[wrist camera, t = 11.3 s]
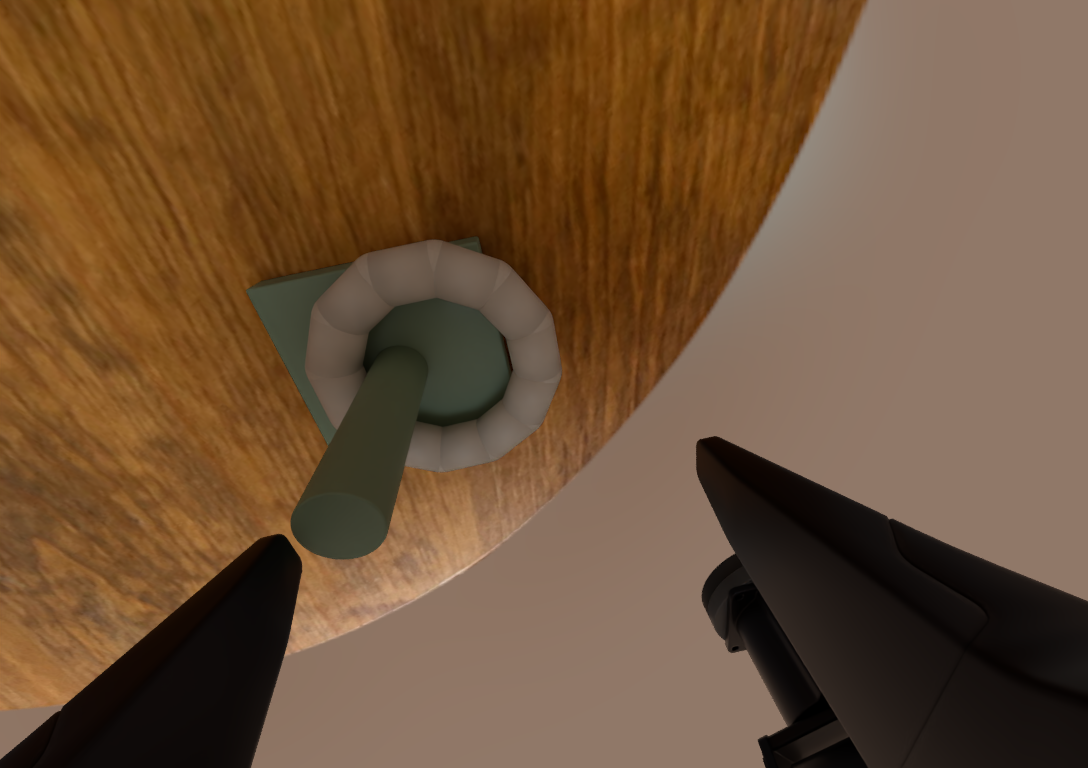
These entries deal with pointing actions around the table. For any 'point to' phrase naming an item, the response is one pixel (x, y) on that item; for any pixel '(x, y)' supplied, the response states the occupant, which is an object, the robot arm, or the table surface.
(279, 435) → the table surface
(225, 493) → the table surface
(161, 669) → the robot arm
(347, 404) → the segmented ring
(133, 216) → the table surface
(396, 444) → the post stand
